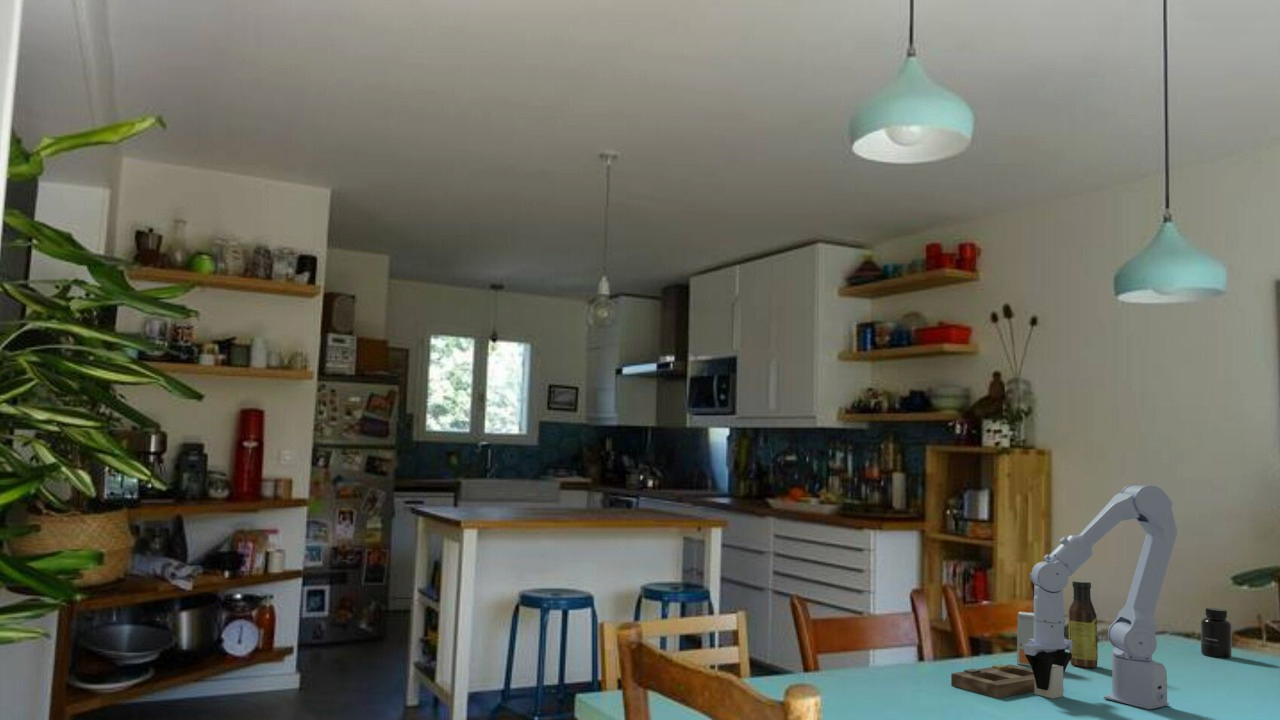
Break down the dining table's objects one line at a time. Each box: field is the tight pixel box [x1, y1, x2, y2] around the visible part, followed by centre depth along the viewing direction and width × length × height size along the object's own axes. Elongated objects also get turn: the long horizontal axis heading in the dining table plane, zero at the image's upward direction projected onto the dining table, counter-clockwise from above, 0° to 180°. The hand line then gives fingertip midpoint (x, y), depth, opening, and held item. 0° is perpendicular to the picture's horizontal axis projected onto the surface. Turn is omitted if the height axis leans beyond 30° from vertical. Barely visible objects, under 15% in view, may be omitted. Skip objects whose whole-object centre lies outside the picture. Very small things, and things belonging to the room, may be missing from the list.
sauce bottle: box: [1068, 580, 1099, 669], centre depth 224 cm, size 7×6×20 cm
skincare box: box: [1016, 611, 1034, 667], centre depth 222 cm, size 6×4×12 cm
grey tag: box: [963, 668, 981, 674], centre depth 199 cm, size 2×3×1 cm, turn 125°
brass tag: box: [991, 663, 1008, 669], centre depth 205 cm, size 2×3×1 cm, turn 125°
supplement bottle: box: [1200, 607, 1233, 659], centre depth 244 cm, size 7×7×12 cm
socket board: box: [950, 663, 1034, 699], centre depth 198 cm, size 11×21×2 cm, turn 125°
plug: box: [1033, 664, 1064, 699], centre depth 192 cm, size 4×4×6 cm
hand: (1048, 688), depth 192 cm, fingers closed on plug, 4 cm apart
